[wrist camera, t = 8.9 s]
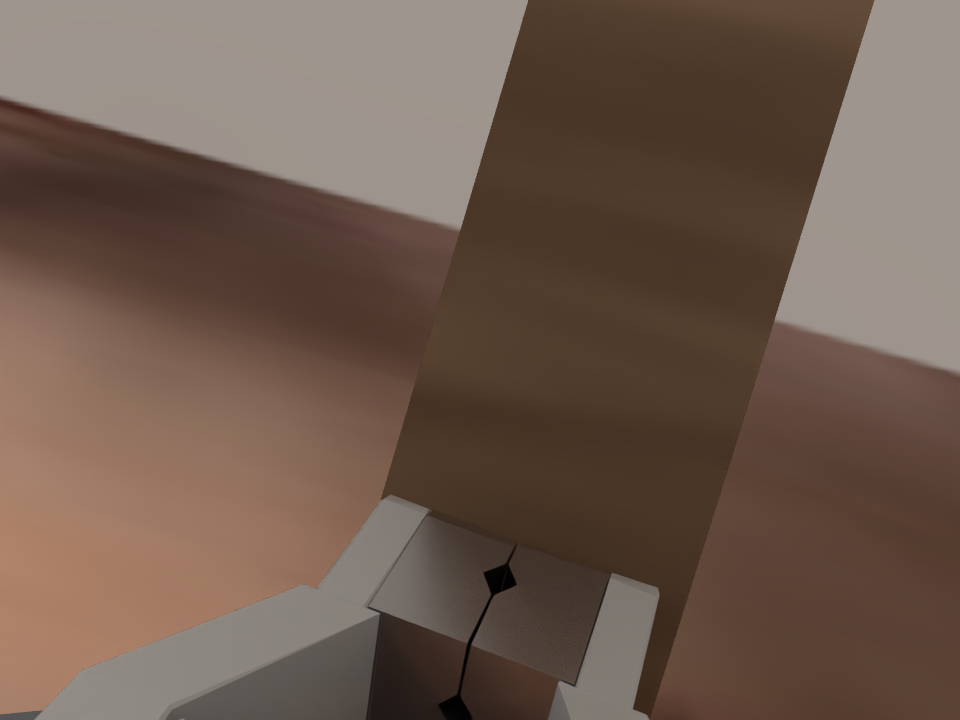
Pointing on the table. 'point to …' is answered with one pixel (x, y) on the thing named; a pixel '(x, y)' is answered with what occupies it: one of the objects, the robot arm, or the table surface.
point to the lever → (624, 278)
